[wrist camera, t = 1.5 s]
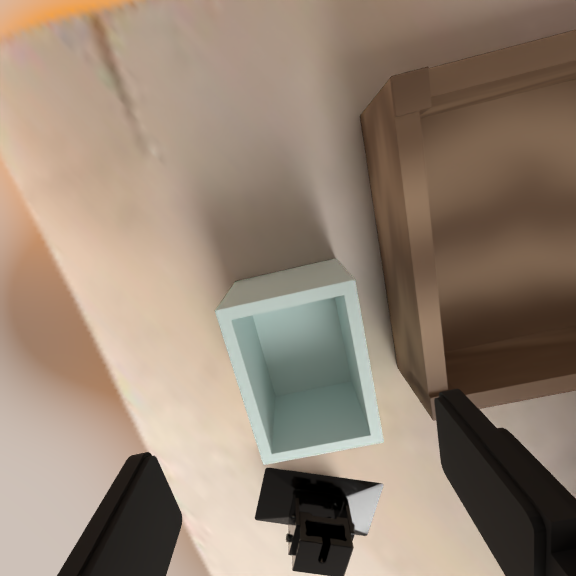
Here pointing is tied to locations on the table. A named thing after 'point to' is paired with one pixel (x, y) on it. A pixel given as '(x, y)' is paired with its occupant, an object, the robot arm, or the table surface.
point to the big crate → (480, 221)
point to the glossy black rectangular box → (318, 516)
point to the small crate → (301, 361)
